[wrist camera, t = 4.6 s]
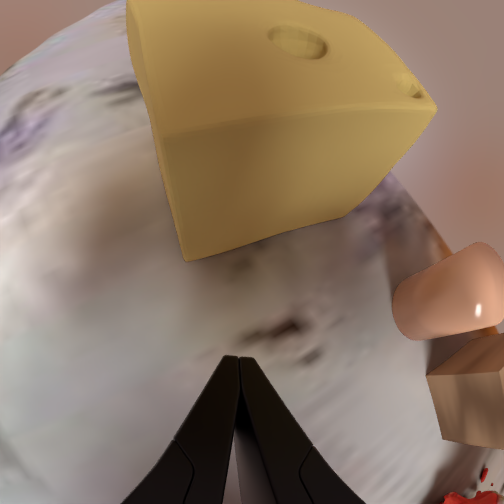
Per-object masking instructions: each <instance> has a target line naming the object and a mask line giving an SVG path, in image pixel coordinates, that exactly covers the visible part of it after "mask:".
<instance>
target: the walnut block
mask: <svg viewBox="0 0 504 504" xmlns="http://www.w3.org/2000/svg"><path fill="white" fill-rule="evenodd" d="M426 378H427V382H428V385H429V389H430V392H431V396H432V399H433V403H434V406H435V410H436V414H437V418H438V422H439V426H440V430H441V435H442V439H443V440H448V441H453V442H458V443H463V444H469V445H475V446H481V447H487V448H494V449H502V450H504V333H501V334H496V335H492V336H487V337H482V338H477V339H472V340H471V341H470V342H469V343H467V344H466V345H465V346H464V347H463V348H461V349H460V350H459V351H458V352H456V353H455V354H454V355H453V356H451V357H450V358H449V359H447V360H446V361H445V362H444V363H442V364H441V365H440V366H438V367H437V368H436V369H434V370H433V371H431V372H430V373H429V374H427V375H426Z"/></svg>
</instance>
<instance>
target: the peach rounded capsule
mask: <svg viewBox="0 0 504 504" xmlns="http://www.w3.org/2000/svg"><path fill="white" fill-rule="evenodd" d="M392 311H393V317H394V320H395V323H396V325H397V327H398V328H399V330H400V331H401V332H402V334H403V335H405V336H406V337H407V338H409V339H411V340H415V341H421V340H427V339H433V338H438V337H444V336H449V335H454V334H459V333H464V332H468V331H473V330H477V329H482V328H486V327H490V326H494V325H497V324H499V323H500V322H501V321H502V320H503V319H504V263H503V261H502V259H501V258H500V256H499V255H498V253H497V252H496V251H495V250H494V249H493V248H492V247H491V246H489V245H488V244H486V243H483V242H476V243H474V244H472V245H470V246H468V247H466V248H464V249H463V250H461V251H459V252H457V253H455V254H453V255H451V256H450V257H448V258H446V259H444V260H442V261H440V262H438V263H436V264H434V265H432V266H430V267H428V268H426V269H424V270H422V271H420V272H418V273H416V274H414V275H412V276H410V277H408V278H406V279H404V280H403V281H402V282H401V283H400V284H399V285H398V286H397V288H396V290H395V292H394V295H393V301H392Z"/></svg>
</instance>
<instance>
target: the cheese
mask: <svg viewBox="0 0 504 504" xmlns="http://www.w3.org/2000/svg"><path fill="white" fill-rule="evenodd" d="M126 26H127V37H128V45H129V51H130V56H131V61H132V64H133V68H134V72H135V75H136V78H137V81H138V84H139V87H140V90H141V93H142V95H143V98H144V101H145V104H146V107H147V111H148V114H149V118H150V122H151V127H152V132H153V137H154V142H155V147H156V152H157V157H158V162H159V167H160V171H161V175H162V179H163V183H164V187H165V191H166V195H167V199H168V202H169V206H170V209H171V213H172V217H173V220H174V224H175V228H176V232H177V235H178V239H179V243H180V247H181V251H182V255H183V258H184V261H186V262H189V261H193V260H197V259H201V258H205V257H209V256H212V255H216V254H219V253H223V252H226V251H229V250H232V249H235V248H238V247H241V246H244V245H247V244H250V243H253V242H256V241H259V240H262V239H265V238H268V237H271V236H274V235H277V234H280V233H283V232H287V231H291V230H294V229H298V228H301V227H305V226H309V225H313V224H317V223H321V222H325V221H329V220H333V219H337V218H341V217H344V216H345V215H347V214H348V213H349V212H350V211H351V210H353V209H354V208H355V207H356V206H358V205H359V204H360V203H361V202H362V201H363V200H364V199H365V198H366V197H367V196H368V195H369V194H370V193H371V192H372V191H373V190H374V189H375V188H376V186H377V185H378V184H379V183H380V182H381V181H382V180H383V179H384V178H385V176H386V175H387V174H388V173H389V171H390V170H391V168H393V166H394V165H395V164H396V163H397V162H398V161H399V160H400V159H401V157H403V155H404V154H405V153H406V152H407V151H408V150H409V149H410V148H411V146H412V145H413V144H414V143H415V142H416V140H417V139H418V138H419V136H420V135H421V134H422V132H423V131H424V130H425V128H426V127H427V125H428V124H429V122H430V121H431V119H432V118H433V116H434V115H435V113H436V112H437V106H436V104H435V103H434V101H433V100H432V99H431V97H430V96H429V94H428V93H427V91H426V90H425V89H424V88H423V86H422V85H421V84H420V82H419V81H418V80H417V79H416V77H415V76H414V75H413V73H412V72H411V71H410V70H409V69H408V68H407V67H406V65H405V64H404V63H403V62H402V60H401V59H400V58H399V56H398V55H397V54H396V53H395V52H394V51H393V50H392V49H391V48H390V47H389V45H387V44H386V43H385V42H384V41H383V40H382V39H381V38H380V37H379V36H378V35H376V34H375V33H374V32H373V31H372V30H371V29H370V28H369V27H367V26H366V25H365V24H364V23H362V22H361V21H360V20H358V19H357V18H355V17H353V16H351V15H348V14H345V13H342V12H338V11H333V10H329V9H324V8H321V7H317V6H313V5H310V4H306V3H303V2H300V1H298V0H127V2H126Z"/></svg>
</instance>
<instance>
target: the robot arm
mask: <svg viewBox="0 0 504 504" xmlns="http://www.w3.org/2000/svg"><path fill="white" fill-rule="evenodd" d="M233 435H234V443H235V452H236V461H237V469H238V478H239V486H240V494H241V501H242V504H366V503H365V502H364V501H363V500H362V499H361V498H360V497H359V496H358V495H356V494H355V493H354V492H353V491H352V490H351V489H350V488H349V487H348V486H347V485H346V484H345V483H344V482H343V480H342V479H341V478H340V477H339V476H338V475H337V474H336V473H335V472H334V471H333V470H332V468H331V467H330V466H329V465H328V463H327V462H326V461H325V460H324V458H323V457H322V456H321V454H320V453H319V452H318V450H317V449H316V448H315V446H313V444H312V442H311V441H310V439H309V438H308V437H307V435H306V434H305V432H304V431H303V430H302V428H301V427H300V425H299V424H298V422H297V421H296V420H295V418H294V417H293V415H292V414H291V412H290V411H289V410H288V408H287V407H286V405H285V404H284V402H283V401H282V399H281V398H280V396H279V395H278V393H277V392H276V390H275V389H274V388H273V386H272V385H271V383H270V382H269V380H268V379H267V377H266V376H265V374H264V372H263V371H262V369H261V368H260V366H259V365H258V363H257V362H256V360H255V359H254V358H252V357H239V358H238V357H237V356H231V355H224V356H223V357H222V359H221V361H220V362H219V364H218V366H217V367H216V369H215V371H214V372H213V374H212V376H211V377H210V379H209V381H208V382H207V384H206V386H205V387H204V389H203V391H202V392H201V394H200V396H199V397H198V399H197V401H196V402H195V404H194V405H193V407H192V409H191V410H190V412H189V414H188V415H187V417H186V418H185V420H184V422H183V423H182V425H181V427H180V428H179V430H178V431H177V433H176V435H175V436H174V438H173V440H172V441H171V442H170V444H169V445H168V447H167V449H166V450H165V452H164V453H163V455H162V456H161V457H160V459H159V460H158V462H157V463H156V465H155V466H154V467H153V468H152V469H151V471H150V472H149V473H148V474H147V475H146V477H145V478H144V479H143V480H142V481H141V482H140V483H139V484H138V486H137V487H136V488H135V489H134V490H133V491H132V492H131V493H130V494H129V495H128V496H127V497H126V498H125V499H124V501H123V502H122V503H121V504H222V502H223V496H224V490H225V484H226V478H227V472H228V466H229V460H230V454H231V448H232V442H233ZM312 446H313V447H312Z"/></svg>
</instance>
